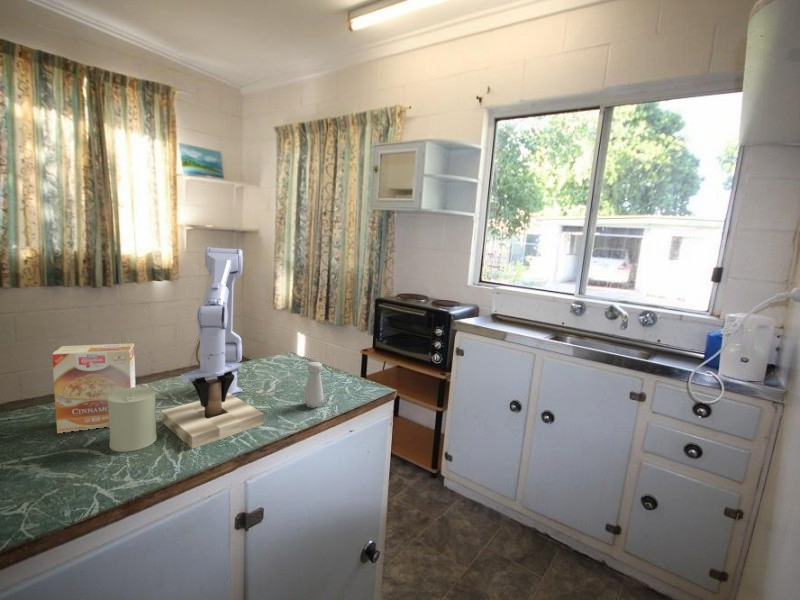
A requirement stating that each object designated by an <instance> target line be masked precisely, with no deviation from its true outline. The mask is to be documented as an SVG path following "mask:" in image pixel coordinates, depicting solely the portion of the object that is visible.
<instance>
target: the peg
mask: <svg viewBox="0 0 800 600" xmlns="http://www.w3.org/2000/svg"><path fill="white" fill-rule="evenodd" d="M206 382H208V383H209V387H208V394H207V398H208V404H207V407H205V417H206V418H212V417H216V416H219V415H222V381H221V380H219V379H211V380H207V379H206Z"/></svg>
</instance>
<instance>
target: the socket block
mask: <svg viewBox="0 0 800 600" xmlns="http://www.w3.org/2000/svg"><path fill="white" fill-rule="evenodd" d="M160 414H161V423H162V424H164V425H165V426H166V428H168V429H169V430H170V431H171V432H173V433H174V434H175V435H176V436H177V437H178V438H179V439H181V440H182V441H183V442H184V443H185V444H186V445H187V446H188V447H190V448H191V449H192V450H193V449H197V448H198V447H199V448H200V447H202V446H204V445H207V444H211V443H213V442H217V441H220V440H223V439H225V438H228V437H231V436H233V435H236V434H240V433H243V432H245V431H248V430H251V429H253V428H257V427H259V426H262V425H264V418H265V413H264V412H262V411H260V410H259V409H257V408H255V407H254V406H252V405H250V404H249V403H247V402H245V401H244V400H242V399H240V398H239V397H237V396H235V395H234V394H230V393H228V394H227V395H226V399H225V402H222V415H219V416H216V417H212V418H206V417H205V407H203V406H202V405H201V403H200V400H197V401H193V402H190V403H187V404H186V403H185V404H182V405H179V406H178V405H177V406H175V407H170V408H166V409H163V410H161V413H160Z"/></svg>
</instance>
